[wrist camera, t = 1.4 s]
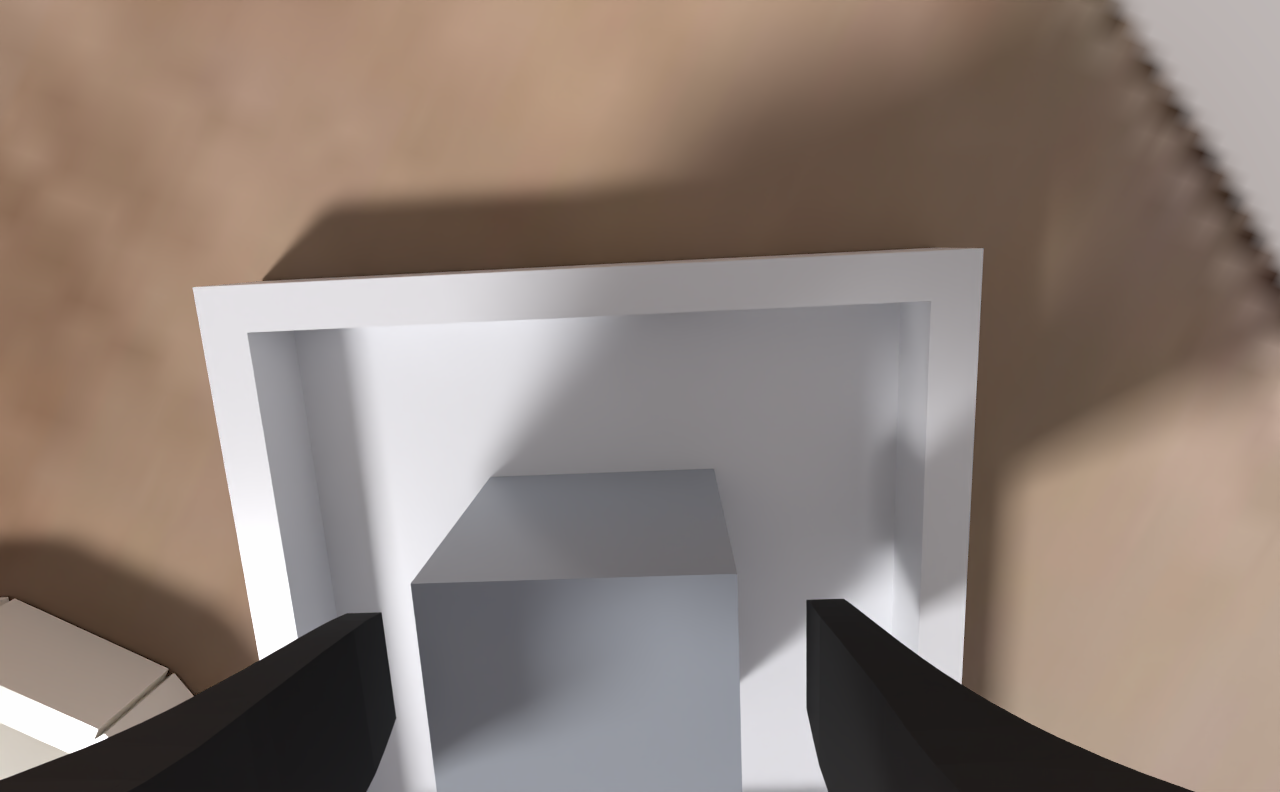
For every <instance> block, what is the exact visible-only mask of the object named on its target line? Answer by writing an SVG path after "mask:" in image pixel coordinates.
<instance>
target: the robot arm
mask: <svg viewBox="0 0 1280 792" xmlns="http://www.w3.org/2000/svg"><path fill="white" fill-rule="evenodd" d="M806 709H807V714H808V718H809V723H810V728H811V732H812V737H813V741H814V746H815V750H816V754H817V759H818V763H819V767H820V770H821V773H822V775H823V778H824V781H825V784H826V787H827V790H828V792H1194V791H1191V790H1188V789H1185V788H1183V787H1180V786H1177V785H1174V784H1171V783H1169V782H1166V781H1163V780H1160V779H1157V778H1155V777H1152V776H1149V775H1146V774H1143V773H1141V772H1138V771H1136V770H1133V769H1131V768H1128V767H1126V766H1123V765H1121V764H1118V763H1116V762H1113V761H1111V760H1108V759H1106V758H1103V757H1101V756H1099V755H1097V754H1094V753H1092V752H1090V751H1088V750H1085V749H1083V748H1081V747H1079V746H1076V745H1074V744H1072V743H1070V742H1067V741H1065V740H1063V739H1061V738H1058V737H1056V736H1054V735H1052V734H1050V733H1048V732H1046V731H1044V730H1042V729H1040V728H1038V727H1036V726H1034V725H1032V724H1030V723H1028V722H1026V721H1024V720H1023V719H1021V718H1019V717H1017V716H1015V715H1013V714H1011V713H1010V712H1008V711H1006V710H1004V709H1002V708H1000V707H999V706H997V705H995V704H993V703H991V702H990V701H988V700H986V699H984V698H983V697H981V696H979V695H978V694H976V693H974V692H973V691H971V690H970V689H968V688H966V687H965V686H963V685H962V684H960V683H959V682H957V681H956V680H954V679H953V678H951V677H949V676H948V675H946V674H945V673H943V672H942V671H940V670H939V669H937V668H936V667H934V666H933V665H932V664H930V663H929V662H927V661H926V660H924V659H923V658H922V657H920V656H919V655H917V654H916V653H915V652H913V651H912V650H911V649H909V648H908V647H907V646H905V645H904V644H902V643H901V642H900V641H898V640H897V639H896V638H895V637H893V636H892V635H891V634H889V633H888V632H887V631H885V630H884V629H883V628H882V627H880V626H879V625H878V624H876V623H875V622H874V621H873V620H871V619H870V618H869V617H867V616H866V615H865V614H864V613H862V612H861V611H860V610H859V609H857V608H856V607H855V606H853V605H852V604H851V603H849V602H848V601H846V600H845V599H813V600H806ZM395 721H396V712H395V705H394V697H393V690H392V683H391V676H390V669H389V662H388V655H387V647H386V640H385V633H384V626H383V619H382V612H374V613H346V614H344V615H342V616H339V617H337V618H335V619H333V620H331V621H329V622H327V623H325V624H323V625H321V626H319V627H317V628H315V629H314V630H312V631H310V632H308V633H306V634H305V635H303V636H301V637H299V638H298V639H296V640H294V641H292V642H291V643H289V644H287V645H285V646H284V647H282V648H280V649H278V650H277V651H275V652H273V653H272V654H270V655H268V656H266V657H265V658H263V659H261V660H259V661H258V662H256V663H254V664H252V665H251V666H249V667H247V668H245V669H244V670H242V671H240V672H238V673H236V674H235V675H233V676H231V677H229V678H227V679H225V680H223V681H222V682H220V683H218V684H216V685H214V686H212V687H210V688H208V689H207V690H205V691H203V692H201V693H199V694H197V695H195V696H194V697H192V698H190V699H188V700H186V701H184V702H182V703H180V704H179V705H177V706H175V707H173V708H171V709H169V710H167V711H165V712H163V713H161V714H159V715H156V716H154V717H152V718H150V719H148V720H146V721H144V722H142V723H140V724H137V725H135V726H133V727H131V728H129V729H126V730H124V731H122V732H120V733H117V734H115V735H113V736H111V737H108V738H106V739H104V740H102V741H99V742H97V743H95V744H92V745H90V746H88V747H85V748H83V749H80V750H78V751H75V752H72V753H70V754H67V755H65V756H62V757H59V758H57V759H54V760H52V761H49V762H46V763H44V764H41V765H39V766H36V767H33V768H31V769H28V770H26V771H23V772H20V773H18V774H15V775H13V776H10V777H7V778H5V779H2V780H0V792H367V790H368V788H369V786H370V784H371V782H372V780H373V778H374V776H375V774H376V772H377V769H378V767H379V764H380V761H381V759H382V756H383V754H384V751H385V749H386V746H387V743H388V740H389V737H390V735H391V732H392V729H393V726H394V723H395Z"/></svg>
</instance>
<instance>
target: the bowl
mask: <svg viewBox="0 0 1280 792" xmlns="http://www.w3.org/2000/svg"><path fill="white" fill-rule="evenodd" d="M167 672H168V668H166V667H164V666H162V665H159V664H157V663H155V662H153V661H151V660H148V659H146V658H144V657H142V656H140V655H138V654H135V653H133V652H131V651H129V650H127V649H124V648H122V647H120V646H118V645H116V644H113V643H111V642H109V641H107V640H105V639H103V638H100V637H98V636H96V635H94V634H92V633H89V632H87V631H85V630H83V629H81V628H78V627H76V626H74V625H72V624H70V623H68V622H65V621H63V620H61V619H59V618H57V617H54V616H52V615H50V614H48V613H46V612H43V611H41V610H39V609H37V608H35V607H33V606H30V605H28V604H26V603H24V602H22V601H19V600H17V599H13V600H11V601H9V598H8V597H0V780H2V779H5V778H7V777H10V776H13V775H15V774H18V773H20V772H23V771H26V770H28V769H31V768H33V767H36V766H39V765H41V764H44V763H46V762H49V761H52V760H54V759H57V758H59V757H62V756H65V755H67V754H70V753H72V752H75V751H78V750H80V749H83V748H85V747H88V746H90V745H92V744H95V743H97V742H99V741H102V740H104V739H106V738H108V737H111V736H113V735H115V734H117V733H120V732H122V731H124V730H126V729H129V728H131V727H133V726H135V725H137V724H140V723H142V722H144V721H146V720H148V719H150V718H152V717H154V716H156V715H159V714H161V713H163V712H165V711H167V710H169V709H171V708H173V707H175V706H177V705H179V704H180V703H182V702H184V701H186V700H188V699H190V698H192V697H194V696H193V695H192V693H191V692H190V691H189V690H188V689H187V687H186V686H185V685H184V684H183V683H182V682H181V680H180V679H179V678H178V677H177V676H176V674H175V673H173V674H171V675H170V676H168V677H167V678H165V677H166V674H167Z"/></svg>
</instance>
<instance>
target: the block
mask: <svg viewBox="0 0 1280 792" xmlns="http://www.w3.org/2000/svg"><path fill="white" fill-rule="evenodd" d="M411 592H412V600H413V608H414V616H415V624H416V631H417V639H418V647H419V655H420V663H421V671H422V679H423V687H424V694H425V702H426V710H427V718H428V726H429V734H430V742H431V750H432V758H433V765H434V773H435V781H436V789H437V792H742V759H741V714H740V670H739V626H738V581H737V570H736V566H735V561H734V557H733V552H732V548H731V543H730V539H729V534H728V530H727V525H726V521H725V516H724V512H723V507H722V503H721V498H720V494H719V489H718V485H717V480H716V476H715V471H714V469H689V470H661V471H634V472H607V473H580V474H553V475H526V476H499V477H490V478H489V479H488V481H487V482H486V483H485V485H484V486H483V487H482V489H481V490H480V491H479V493H478V494H477V495H476V497H475V498H474V499H473V501H472V502H471V503H470V505H469V506H468V507H467V509H466V510H465V511H464V513H463V514H462V515H461V517H460V518H459V519H458V521H457V522H456V524H455V525H454V526H453V528H452V529H451V530H450V532H449V533H448V534H447V536H446V537H445V538H444V540H443V541H442V542H441V544H440V545H439V546H438V548H437V549H436V550H435V552H434V553H433V554H432V556H431V557H430V558H429V560H428V561H427V562H426V564H425V565H424V566H423V568H422V569H421V570H420V572H419V573H418V574H417V576H416V577H415V578H414V580H413V581H412V582H411Z"/></svg>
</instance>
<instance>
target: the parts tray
mask: <svg viewBox="0 0 1280 792" xmlns="http://www.w3.org/2000/svg"><path fill="white" fill-rule="evenodd" d="M983 251H984V248H919V249H899V250H879V251H859V252H838V253H818V254H798V255H778V256H758V257H738V258H717V259H697V260H677V261H657V262H637V263H617V264H596V265H576V266H556V267H536V268H516V269H496V270H475V271H455V272H435V273H415V274H395V275H375V276H354V277H334V278H314V279H294V280H274V281H256V282H245V283H234V284H223V285H212V286H201V287H193V292H194V298H195V303H196V309H197V315H198V320H199V326H200V331H201V337H202V342H203V348H204V354H205V359H206V365H207V370H208V376H209V381H210V387H211V393H212V398H213V404H214V409H215V415H216V420H217V426H218V432H219V437H220V443H221V448H222V454H223V459H224V465H225V471H226V476H227V482H228V487H229V493H230V498H231V504H232V510H233V515H234V521H235V526H236V532H237V538H238V543H239V549H240V554H241V560H242V565H243V571H244V577H245V582H246V588H247V593H248V599H249V604H250V610H251V616H252V621H253V627H254V632H255V638H256V643H257V649H258V655H259V660H261V659H263V658H265V657H266V656H268V655H270V654H272V653H273V652H275V651H277V650H278V649H280V648H282V647H284V646H285V645H287V644H289V643H291V642H292V641H294V640H296V639H298V638H299V637H301V636H303V635H305V634H306V633H308V632H310V631H312V630H314V629H315V628H317V627H319V626H321V625H323V624H325V623H327V622H329V621H331V620H333V619H335V618H337V617H339V616H342V615H344V614H346V613H374V612H382V619H383V626H384V633H385V640H386V647H387V655H388V662H389V669H390V676H391V683H392V690H393V697H394V705H395V712H396V721H395V723H394V726H393V729H392V732H391V735H390V737H389V740H388V743H387V746H386V749H385V751H384V754H383V756H382V759H381V761H380V764H379V767H378V769H377V772H376V774H375V776H374V778H373V780H372V782H371V784H370V786H369V788H368V790H367V792H437V789H436V781H435V773H434V765H433V758H432V750H431V742H430V734H429V726H428V718H427V710H426V702H425V694H424V687H423V679H422V671H421V663H420V655H419V647H418V639H417V631H416V624H415V616H414V608H413V600H412V592H411V582H412V581H413V580H414V578H415V577H416V576H417V574H418V573H419V572H420V570H421V569H422V568H423V566H424V565H425V564H426V562H427V561H428V560H429V558H430V557H431V556H432V554H433V553H434V552H435V550H436V549H437V548H438V546H439V545H440V544H441V542H442V541H443V540H444V538H445V537H446V536H447V534H448V533H449V532H450V530H451V529H452V528H453V526H454V525H455V524H456V522H457V521H458V519H459V518H460V517H461V515H462V514H463V513H464V511H465V510H466V509H467V507H468V506H469V505H470V503H471V502H472V501H473V499H474V498H475V497H476V495H477V494H478V493H479V491H480V490H481V489H482V487H483V486H484V485H485V483H486V482H487V481H488V479H489V478H490V477H499V476H526V475H553V474H580V473H607V472H634V471H661V470H689V469H714V471H715V476H716V480H717V485H718V489H719V494H720V498H721V503H722V507H723V512H724V516H725V521H726V525H727V530H728V534H729V539H730V543H731V548H732V552H733V557H734V561H735V566H736V570H737V581H738V626H739V670H740V714H741V759H742V792H828V790H827V787H826V784H825V781H824V778H823V775H822V773H821V770H820V767H819V763H818V759H817V754H816V750H815V746H814V741H813V737H812V732H811V728H810V723H809V718H808V714H807V709H806V600H813V599H845V600H846V601H848V602H849V603H851V604H852V605H853V606H855V607H856V608H857V609H859V610H860V611H861V612H862V613H864V614H865V615H866V616H867V617H869V618H870V619H871V620H873V621H874V622H875V623H876V624H878V625H879V626H880V627H882V628H883V629H884V630H885V631H887V632H888V633H889V634H891V635H892V636H893V637H895V638H896V639H897V640H898V641H900V642H901V643H902V644H904V645H905V646H907V647H908V648H909V649H911V650H912V651H913V652H915V653H916V654H917V655H919V656H920V657H922V658H923V659H924V660H926V661H927V662H929V663H930V664H932V665H933V666H934V667H936V668H937V669H939V670H940V671H942V672H943V673H945V674H946V675H948V676H949V677H951V678H953V679H954V680H956V681H957V682H959V683H960V684H962V667H963V647H964V627H965V608H966V588H967V568H968V548H969V528H970V509H971V489H972V469H973V449H974V429H975V410H976V390H977V370H978V350H979V331H980V311H981V291H982V271H983Z"/></svg>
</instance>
